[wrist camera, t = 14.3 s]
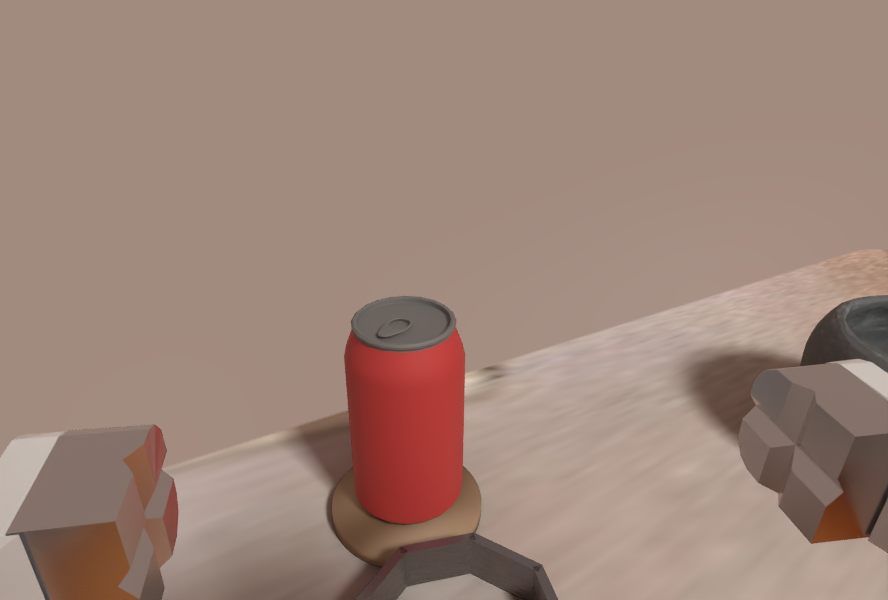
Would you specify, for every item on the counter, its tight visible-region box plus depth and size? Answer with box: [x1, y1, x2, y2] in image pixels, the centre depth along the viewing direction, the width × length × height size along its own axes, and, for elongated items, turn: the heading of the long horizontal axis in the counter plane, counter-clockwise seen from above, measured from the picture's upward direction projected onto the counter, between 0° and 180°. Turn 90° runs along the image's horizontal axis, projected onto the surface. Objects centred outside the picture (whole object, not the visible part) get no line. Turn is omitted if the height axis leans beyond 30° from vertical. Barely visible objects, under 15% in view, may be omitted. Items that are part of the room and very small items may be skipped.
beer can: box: [344, 296, 465, 525], centre depth 36 cm, size 7×7×12 cm
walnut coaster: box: [332, 466, 481, 567], centre depth 38 cm, size 9×9×1 cm
